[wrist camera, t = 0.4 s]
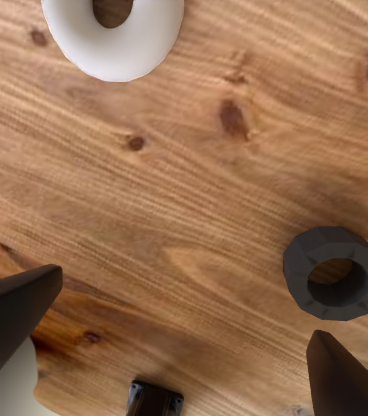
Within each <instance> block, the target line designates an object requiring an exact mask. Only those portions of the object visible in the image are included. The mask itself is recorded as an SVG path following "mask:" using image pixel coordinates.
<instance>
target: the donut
mask: <svg viewBox="0 0 368 416" xmlns="http://www.w3.org/2000/svg"><path fill="white" fill-rule="evenodd" d="M41 2H42V10H43V13H44V16H45V18H46V21H47V24H48V27H49V29H50V32H51V35H52V37H53V38H54V40H55V41H56V43H57V44H58V46H59V47H60V49H61V50H62V52H63V53H64V55H65V56H66V58H68V59H69V60H70V61H71V62H72V63H74V64H75V65H76V66H77V67H78V68H80V69H81V70H82V71H83V72H85V73H86V74H88V75H91V76H93V77H96V78H98V79H101V80H103V81H110V82H128V81H131V80H134V79H136V78H139V77H142V76H145V75H147V74H148V73H149V72H151V71H152V70H153V69H154V68H155V67H157V66H158V65H159V64H160V63H161V62H163V61H164V59H165V58H166V56H167V54H168V53H169V51H170V50H171V48H172V47H173V45H174V43H175V42H176V40H177V36H178V33H179V30H180V26H181V23H182V20H183V16H184V0H134V2H133V7H132V11H131V13H130V15H129V17H128V18H127V20H126V21H125V22H124V23H123V24H122V25H120V26H118V27H116V28H105V27H103V26H102V25H100V24H99V23H98V21H97V20H96V18H95V15H94V12H93V3H92V2H93V0H41Z"/></svg>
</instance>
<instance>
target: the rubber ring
mask: <svg viewBox="0 0 368 416" xmlns="http://www.w3.org/2000/svg"><path fill="white" fill-rule="evenodd" d="M331 258H349V259H351V260H353V267H352V271H351V272H350V273H349V274H348V275H347V276H346V278H345V279H344V280H341V281H339V282H336V283H334V284H331V285H322V284H315V283H313V282H311V281H309V280H308V275H309V274H310V273H311V271H312V270H313V269H314V268H315V266H316V265H317V264H320V263H322V262H324V261H327V260H329V259H331ZM283 272H284V276H285V279H286V282H287V286H288V289H289V292H290V293H291V295H292V296H293V298H294V300H295V301H296V303H297V304H298V306H299V307H300V308H301V309H302V310H304V311H306V312H308V313H310V314H312V315H314V316H316V317H317V318H319V319H321V320H337V321H348V320H351V319H354V318H357V317H360V316H363V315H366V314H368V242H366V241H365V240H364V239H363V238H362V237H361V236H359V235H357V234H355V233H353V232H351V231H349V230H347V229H345V228H343V227H315V228H313V229H311V230H309V231H307V232H305V233H303V234H301V235H299V236H296V237H295V239H294V240H293V241H292V243H291V244H290V246H289V247H288V248H287V250H286V251H285V253H284V262H283Z"/></svg>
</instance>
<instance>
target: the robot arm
mask: <svg viewBox="0 0 368 416" xmlns="http://www.w3.org/2000/svg"><path fill="white" fill-rule="evenodd" d="M62 285H63V279H62V267H61V266H58V265H54V264H48V265H45V266H41V267H38V268H35V269H32V270H28V271H25V272H22V273H18V274H15V275H12V276H9V277H5V278H2V279H0V370H1V368H2V367H3V366H4V365H5V363H6V362H7V361H8V360H9V359H10V358H11V356H12V355H13V354H14V353H15V351H16V350H17V349H18V348H19V347H20V345H21V344H22V343H23V342H24V341H25V340H26V338H27V337H28V336H29V335H30V334H31V332H32V331H33V330H34V329H35V327H36V326H37V325H38V323H39V322H40V320H41V319H42V318H43V316H44V315H45V313H46V312H47V310H48V309H49V307H50V306H51V304H52V303H53V302H54V300H55V299H56V297H57V296H58V294H59V293H60V291H61V289H62ZM306 357H307V365H308V373H309V380H310V388H311V396H312V403H313V409H314V414H315V416H368V370H367V369H366V368H365V367H364V366H363V365H362V364H361V363H360V362H359V361H358V360H357V359H356V358H355V357H354V356H353V355H352V354H351V353H350V352H349V351H348V350H347V349H345V348H344V347H343V346H342V345H341V344H340V343H339V342H338V341H337V340H336V339H335V338H334V337H333V336H332V335H331V334H330V333H329V332H325V331H321V330H315V331H314V332H313V334H312V337H311V339H310V342H309V344H308V347H307V351H306ZM183 401H184V397H183V396H182V395H180V394H177V393H174V392H170V391H167V390H164V389H161V388H158V387H155V386H152V385H149V384H146V383H142V382H139V381H136V380H133V381H132V383H131V385H130V392H129V399H128V406H127V413H126V416H180V413H181V409H182V405H183Z"/></svg>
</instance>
